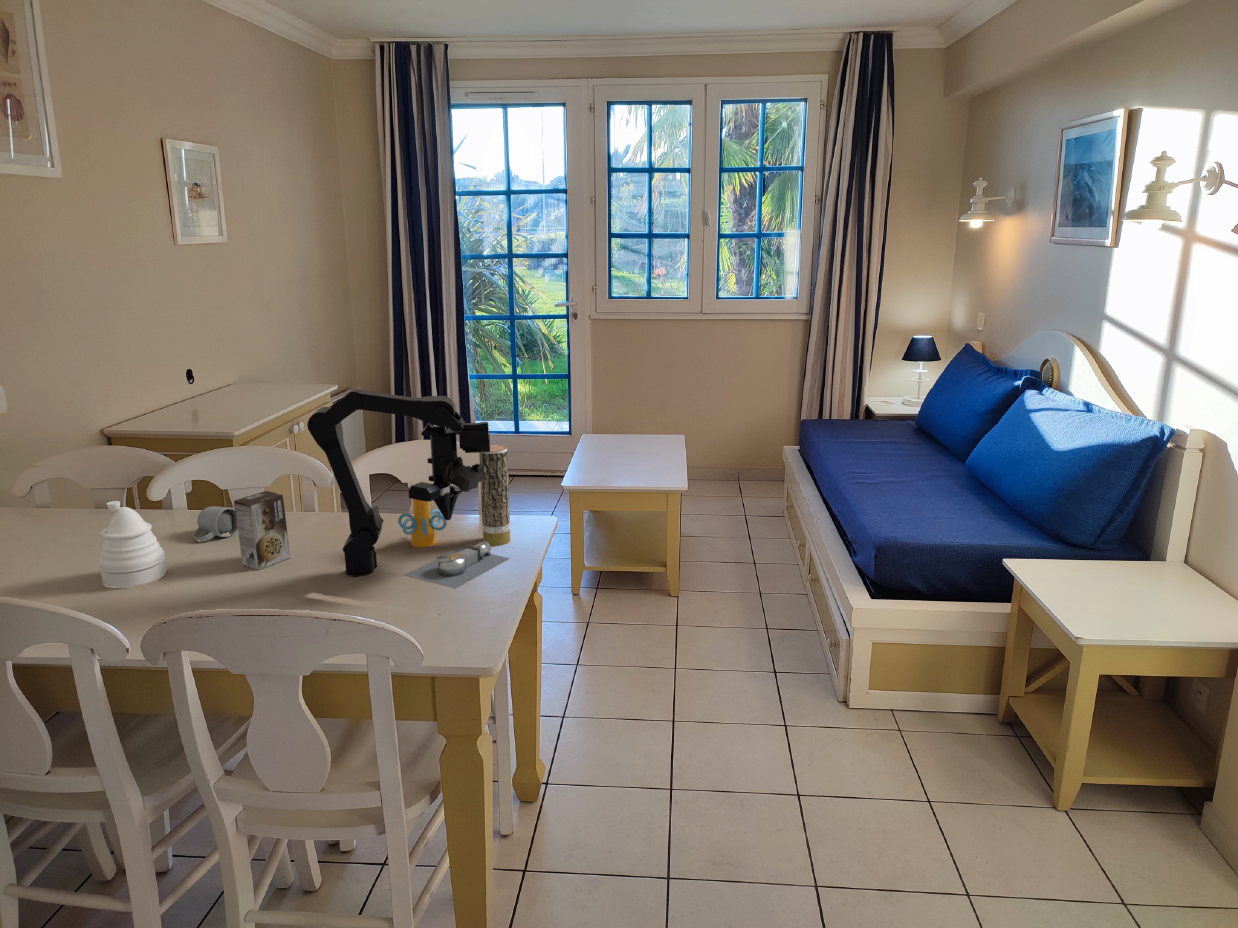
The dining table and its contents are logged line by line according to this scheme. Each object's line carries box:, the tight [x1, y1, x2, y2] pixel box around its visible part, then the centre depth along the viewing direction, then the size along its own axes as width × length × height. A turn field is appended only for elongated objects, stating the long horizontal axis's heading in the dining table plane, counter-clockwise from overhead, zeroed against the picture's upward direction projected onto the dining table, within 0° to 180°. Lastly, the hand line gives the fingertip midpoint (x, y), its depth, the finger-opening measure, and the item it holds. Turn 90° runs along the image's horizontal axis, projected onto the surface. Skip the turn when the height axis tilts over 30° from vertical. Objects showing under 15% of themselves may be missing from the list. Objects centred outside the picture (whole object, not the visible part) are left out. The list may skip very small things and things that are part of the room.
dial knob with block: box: [435, 545, 481, 576], centre depth 195 cm, size 12×6×3 cm, turn 148°
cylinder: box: [397, 499, 448, 548], centre depth 209 cm, size 12×10×15 cm
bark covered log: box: [478, 444, 511, 547], centre depth 209 cm, size 7×7×25 cm
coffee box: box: [233, 490, 291, 570], centre depth 199 cm, size 9×6×16 cm
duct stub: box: [473, 541, 492, 560], centre depth 202 cm, size 4×3×3 cm
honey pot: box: [98, 500, 168, 587], centre depth 190 cm, size 13×13×18 cm
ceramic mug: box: [192, 505, 238, 541], centre depth 217 cm, size 11×8×8 cm
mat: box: [404, 547, 511, 589], centre depth 196 cm, size 20×15×1 cm
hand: (447, 519), depth 193 cm, fingers closed
